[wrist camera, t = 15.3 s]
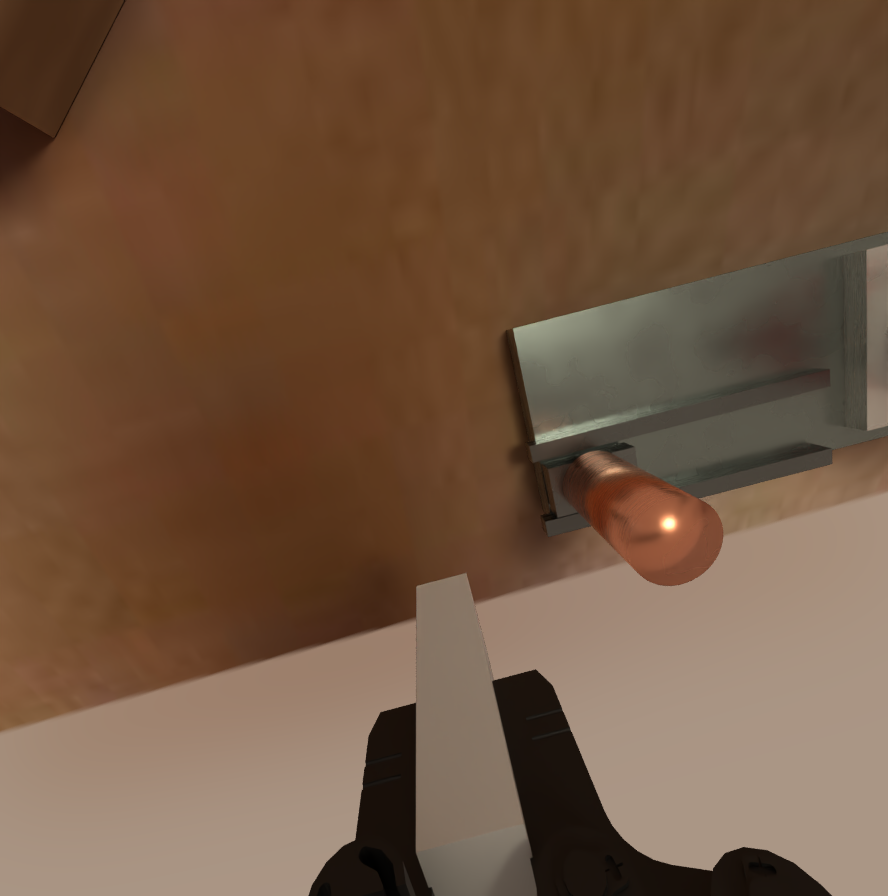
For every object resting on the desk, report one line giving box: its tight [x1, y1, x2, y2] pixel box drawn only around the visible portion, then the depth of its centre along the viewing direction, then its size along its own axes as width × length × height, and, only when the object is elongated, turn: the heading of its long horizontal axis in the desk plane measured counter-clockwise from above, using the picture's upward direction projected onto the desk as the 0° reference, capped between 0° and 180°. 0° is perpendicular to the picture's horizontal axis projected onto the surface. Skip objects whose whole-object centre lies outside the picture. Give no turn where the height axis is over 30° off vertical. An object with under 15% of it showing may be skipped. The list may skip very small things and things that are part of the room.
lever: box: [542, 442, 723, 586], centre depth 16 cm, size 4×3×7 cm
